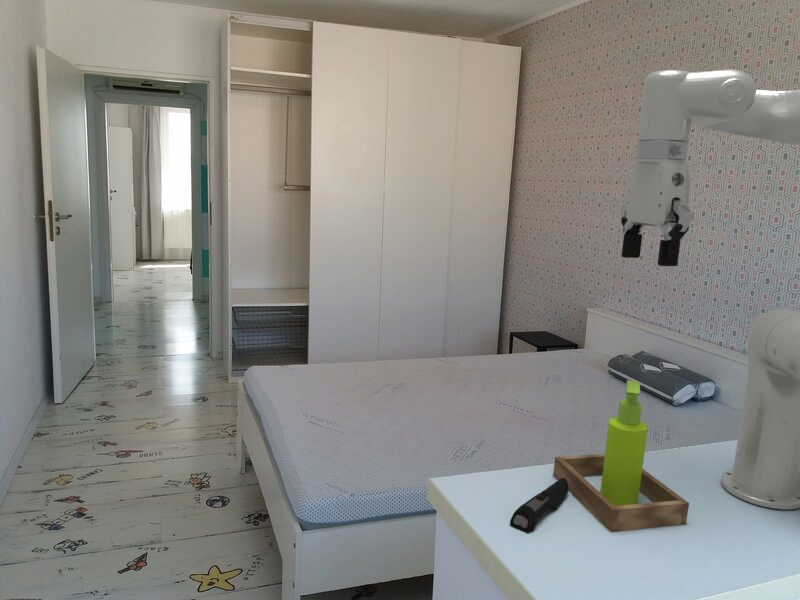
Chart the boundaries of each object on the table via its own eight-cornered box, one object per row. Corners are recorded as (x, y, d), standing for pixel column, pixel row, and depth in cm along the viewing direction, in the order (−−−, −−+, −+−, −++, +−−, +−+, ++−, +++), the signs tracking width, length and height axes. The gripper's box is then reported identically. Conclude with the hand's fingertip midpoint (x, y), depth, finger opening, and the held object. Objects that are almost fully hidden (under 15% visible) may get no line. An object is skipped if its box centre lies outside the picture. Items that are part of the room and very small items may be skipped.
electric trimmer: (574, 498, 104) (576, 480, 103) (530, 536, 92) (532, 515, 91) (552, 491, 106) (554, 473, 106) (507, 526, 94) (509, 506, 94)
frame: (619, 470, 114) (621, 452, 113) (686, 524, 97) (689, 503, 96) (553, 475, 111) (555, 457, 110) (610, 531, 94) (613, 510, 93)
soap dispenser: (599, 506, 101) (613, 386, 97) (600, 487, 107) (614, 374, 103) (638, 514, 99) (654, 392, 95) (637, 494, 105) (652, 379, 102)
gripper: (720, 154, 93) (704, 269, 96) (648, 156, 109) (636, 255, 113) (676, 151, 91) (661, 269, 94) (609, 153, 108) (598, 254, 111)
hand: (648, 261), depth 103 cm, fingers open, 9 cm apart
